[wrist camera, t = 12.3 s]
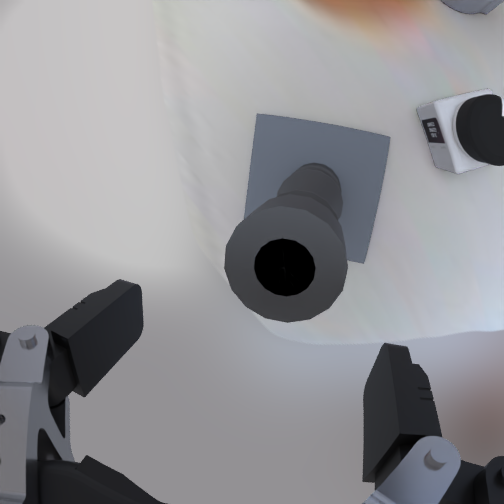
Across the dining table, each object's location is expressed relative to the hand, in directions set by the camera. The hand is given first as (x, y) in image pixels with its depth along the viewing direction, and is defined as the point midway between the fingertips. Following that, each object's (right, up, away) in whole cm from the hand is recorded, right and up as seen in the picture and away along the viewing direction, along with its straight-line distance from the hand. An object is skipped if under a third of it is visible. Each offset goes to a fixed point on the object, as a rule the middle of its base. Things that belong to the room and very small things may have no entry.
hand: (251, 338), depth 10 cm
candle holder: (+8, +10, +28) cm, 30 cm away
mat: (+8, +11, +28) cm, 31 cm away
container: (+24, +18, +22) cm, 37 cm away
